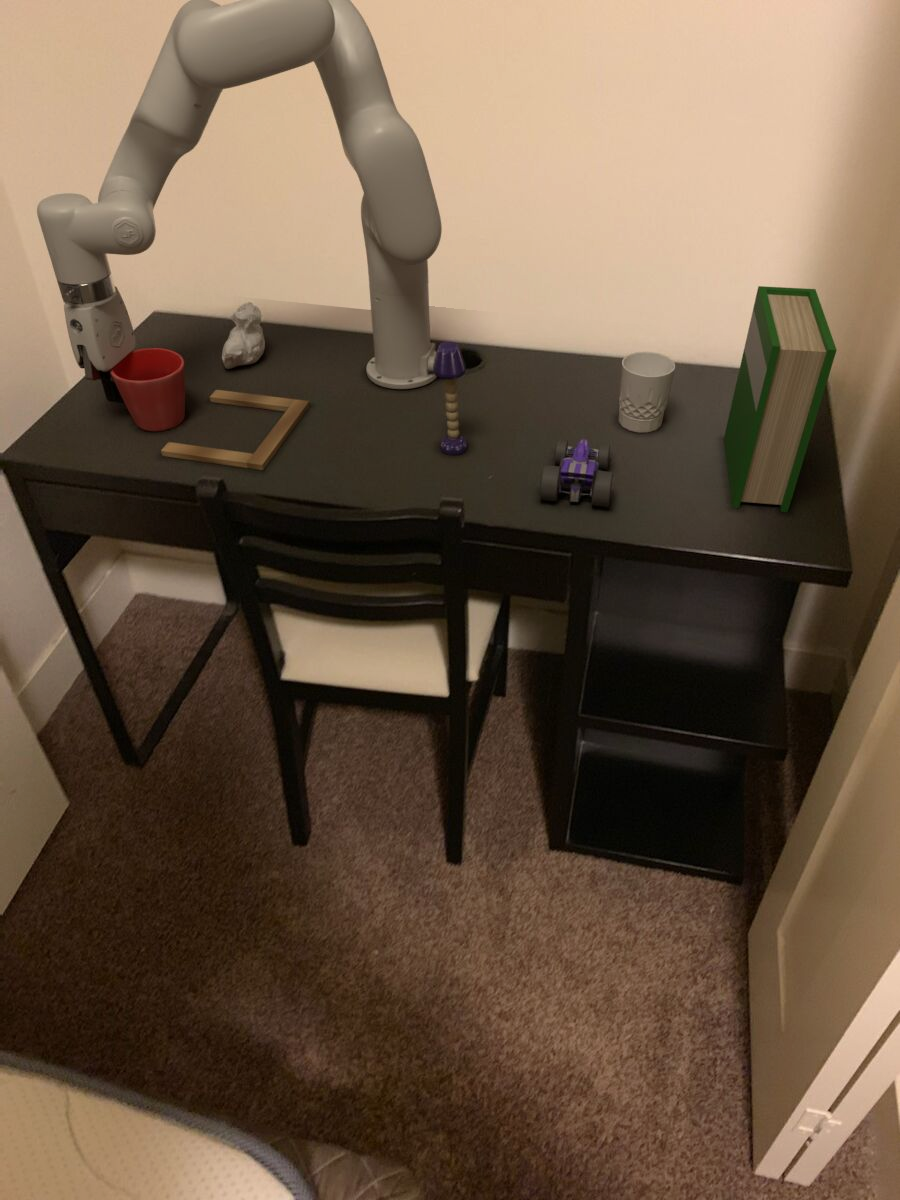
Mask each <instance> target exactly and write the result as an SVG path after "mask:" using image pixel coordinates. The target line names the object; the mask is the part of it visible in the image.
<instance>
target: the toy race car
mask: <svg viewBox="0 0 900 1200" xmlns="http://www.w3.org/2000/svg"><path fill="white" fill-rule="evenodd" d="M610 450H611V444H610V443H609V444H608V443H607V444H606V443H600V444H599V445H598V449H597V448H590V442H589V441H588V440H587V439H585V438H583V439H580V440H579V442H578V443H577V445H576V446H569V440H567V439H557V441H556V445H555V451H554V465H551V464H550V465H549V464H544V466H543V468H542V472H541V477H540V486H539V499H540V500H541V501H547V502H548V501H549V502H557V500H558V499H559V494H561V493H564V494H567V495H569V502H572V503H579V502H580V499H581V497H582V496H589V497H590V498H591V506H594V507H603V508H608V507H609V506H610V500H611V494H612V484H613V477H614V474H613V472H612V471H607V469H608V468H609V467H608V465H609V458H610V452H611V451H610Z"/></svg>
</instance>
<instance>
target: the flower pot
mask: <svg viewBox="0 0 900 1200" xmlns="http://www.w3.org/2000/svg"><path fill="white" fill-rule="evenodd" d="M110 373H111V375H112V377H113V380H114V382H115V384H116V386H117V388H118V390H119V392H120V394H121V396H122V398H123V401H124V403H123V404H124V405H125V406H126V409H127V410H128V412H129V414H130V416H131V418H132V420H133V422H134V424H135V425H136V427H138V428H139V429H141V430H143V431H145V432H146V431H147V432H163V431H166V430H168V429H170V430H171V429H173V428H176V427H177V426H179V425H180V424H181V423H183V421H184V419H185V415H186V378H185V376H186V375H185V373H186V372H185V359H184V358H183V356H182V355H180V354H179V353H178V352H176V351H174V350H171V349H166V348H161V347H149V348H140V349H135V350H132V351H131V352H130V353H129V354H128V355H127V356H126V357H124V358H123V359H122V360H121V361H120V362H119V363H118V364H116V365H115V366H114V367H113V368H112V369H110Z"/></svg>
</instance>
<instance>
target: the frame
mask: <svg viewBox="0 0 900 1200" xmlns="http://www.w3.org/2000/svg"><path fill="white" fill-rule="evenodd" d="M209 401H210V403H214V404H215V403H216V404H223V405H229V406H230V405H231V406H239V407H246V408H253V409H254V408H255V409H264V410H269V411H270V410H271V411H278V412H284V413H283V414H282V416H281V417H280V418H279V419H278V421H277V422H276V423H275V425H274V426H273V427H272V429H271V430H270V432H269V433H268V434H267V436H265V438H264V439H263V441H262V442H261V443H260V444H259V445H258V447H257V449H255V451H254V452H253V453H251V452H244V451H237V450H236V451H235V450H229V449H222V448H215V447H207V446H200V445H192V444H185V443H179V442H171V441H168V442H167V443H166V444H165V445H164V446H163V447H162V449H161V450H160V453H161V456H162V457H167V458H173V459H181V460H188V461H194V462H195V461H196V462H201V463H202V462H203V463H209V464H215V465H216V464H218V465H222V466H223V465H224V466H229V467H230V466H231V467H236V468H237V467H238V468H243V469H251V470H257V471H264V470H265V468H267V466H268V464H269V463H270V462H271V460H272V459H273V458H274V456H275V455H276V454H277V452H278V451H279V449H280V448H281V447H282V446H283V444H284V443H285V441H286V440H287V439H288V437H289V436H290V434H291V433H292V432H293V431H294V429H295V428H296V426H297V425H298V423H299V422H300V421H301V419H302V418H303V417H304V415H305V414H306V412H307V411H308V410H309V409H310V407H311V403H310V400H303V399H295V398H286V397H279V396H273V395H272V396H271V395H263V394H257V393H256V394H255V393H247V392H239V391H230V390H222V389H215V390H214V391H213V392H212V394H211V395H210V396H209Z"/></svg>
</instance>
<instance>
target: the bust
mask: <svg viewBox="0 0 900 1200" xmlns="http://www.w3.org/2000/svg"><path fill="white" fill-rule="evenodd" d="M236 310H237V311H234V312H233V313H232V314H231V315H230V320H231V321H232V322H233V323H234V324H235V326H234V327H233V328H232V329H231V330H230V331H229V336H228V337H227V340H226V341H225V343H224V344H223V348H222V352H221V361H222V364H223V366H224V367H225V368H226V369H227V370H230V369H233V368H236V367H239V366H247V365H252V364H255V363H257V362H258V361H259V360H260V358H261V357H262V356H263V354H264V351H265V348H266V341H265V336H264V332H263V331H264V330H263V328H262V326H261V325H260V324H261V323H262V316H263V315H262V312H261V309H260V308H259V307H258V306H257V305H255V304H253V302H251V301H248V302H244V303H243V304H241V305H239V306H238V307H237V309H236Z"/></svg>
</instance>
